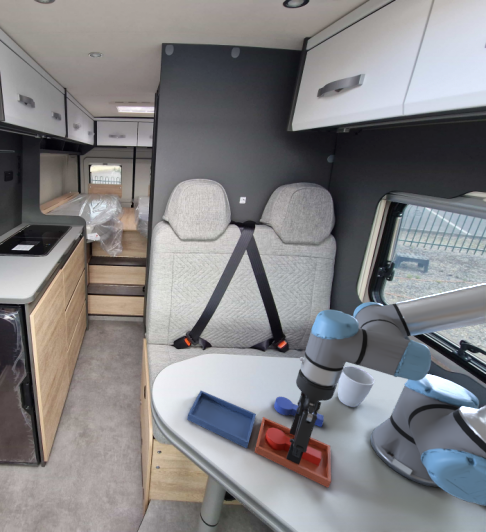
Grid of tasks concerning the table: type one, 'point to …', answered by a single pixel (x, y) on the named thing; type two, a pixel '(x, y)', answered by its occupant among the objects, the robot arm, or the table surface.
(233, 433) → the blue tray
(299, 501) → the table surface
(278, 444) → the red spoon
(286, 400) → the blue spoon
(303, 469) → the red tray
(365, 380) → the cup
